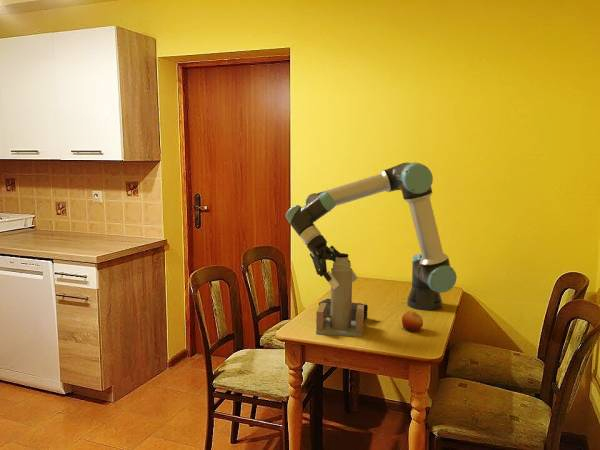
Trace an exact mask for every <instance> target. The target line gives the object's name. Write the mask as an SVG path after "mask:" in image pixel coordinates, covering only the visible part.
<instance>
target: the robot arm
mask: <svg viewBox="0 0 600 450" xmlns="http://www.w3.org/2000/svg"><path fill="white" fill-rule="evenodd" d="M433 177H434V176H433V173H432V171H431V169H429V167H428V166H427V165H425V164H422V163H420V162H402V163H399V164H397V165H395V166H394V165H393V166H391V167H389V168H386V169H383V170H381V172H380V173H379V174H376V175H372V176H369V177H365V178H363V179H359V180H356V181H353V182H350V183H345V184H343V185H339V186H337V187H333V188H330V189H326V190H324V191H320V192H317V193H315V192H314V193H310V194H309V195H308V196H307V197H306V198H305V205H304V206H301V205H300V204H297V205H294V206H291V207H290V208H289V209H288V210H287V212H286V213H285V218H286V220H287V222H288V223H289V224H290V226H291V227H292V229H293V230H294V231H295V232H296V234H297V236H298V237H299V238H300V239H301V240H302V242H303V243H304V245H306V248H307V249H308V251H309V252H310V253H309V257H310V258H311V260H312V263H313V265H314V268H315V272H316V274H317V275H318V276H320V277H324V279H325V280H326V281H327V283H328V284H329V285H330V287H331V286H332V288H333V289H336V288H337V287H338V286H339V284H338V282H337V281H336V280H335V278H334V277H333V276H332V274H331V270H328V268H327V267H328V266H327V261H332V262H333V263H334V262H335V261H336V256H335V254H338V253H341V252H340V251H339V250H338V249H337V248H336V247H335V246H334V245H331V246H329V247H328V245H327V243H328V240H327V239H326V238H325V237H324V235H323V234H322V233H321V231H320V230H319V229H318V228H317V226H316V224H314V223H316V222H317V221H318V220H319V219H321V218H322V217H323V216H325V215H326V214H328V213H330V212H331V211H332V210H333V209H334V208H336V207H337V206H340V205H344V204H346V203H351V202H354V201H356V200H360V199H363V198H367V197H370V196H373V195H377V194H380V193H383V192H387V193H391V192H395V191H401V193H402V197H403V200H404V201H405V202H407V203H408V206H409V210H410V214H411V219H412V223H413V226H414V229H415V234H416V238H417V242H418V246H419V250H420V253H416V254H414V255H413V257H412V262H411V263H412V267H411V269H412V270H411V271H412V272H411V273H412V274H411V276H412V277H411V288H410V292H409V293H408V296H407V299H406V301H407V302H406V303H407V306H408V307H410V308H412V309H416V310H422V311H423V310H425V311H432V310H433V311H435V310H439V309H441V308H443V299H442V295H441V294H443V293H446V292H449V291H451V290H452V289H453V288H454V286H455V285H456V282H457V277H458V276H457V272H456V271H455V269H454V268H453V267H452V266H451V263H450V259H449V256H448V255H447V254H446V253H444V250H443V247H442V242H441V239H440V234H439V231H438V230H439V229H438V226H437V222H436V217H435V213H434V209H433V206H432V201H431V197H432V194H433V188H432V185H433V182H434V181H433V179H434V178H433ZM348 261H349V262H350V263H351V261H350V259H348ZM358 279H359V277H358V276H357V274H356V273H355V272H354V270H353V269H352V283H355V282H356V281H357V280H358Z"/></svg>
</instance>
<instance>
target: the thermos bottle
mask: <svg viewBox="0 0 600 450" xmlns="http://www.w3.org/2000/svg"><path fill="white" fill-rule="evenodd" d="M335 256H336V261H335V262H334V261H333V263H332V267H331V269H330V273H331V274H332V276H333V277H334V278H335V280H336V281H337V282H338V284H339V286H338V287H337V288H336V289H333V288H332V286H331V285H330V299H331V311H330V318H329V320H330V326H331V327H332V328H335V329H348V328H350V327H351V307H352V303H353V302H352V299H353V298H352V297H353V296H352V295H353V282H352V270H353V268H352V263H351V261H350V260H349V254H348V253H342V252H340V253H338V254H335ZM348 260H349V261H350V262H349V261H348Z"/></svg>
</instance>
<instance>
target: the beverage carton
mask: <svg viewBox="0 0 600 450" xmlns="http://www.w3.org/2000/svg"><path fill="white" fill-rule="evenodd" d="M320 303H327V317H326V318H328V319H330V311H331V298H326V299H322V300H321V301H319V302H318V306H319V305H320ZM358 305H364V321H366V320H367V319H368V308H369V306H368V304H365V303H361V302H352V307H351V321H356V311H357V306H358Z"/></svg>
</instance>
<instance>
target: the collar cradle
mask: <svg viewBox="0 0 600 450" xmlns="http://www.w3.org/2000/svg"><path fill="white" fill-rule="evenodd" d="M327 318H328V317H327V303H320V305H319V304H318V308H317V310H316V325H315V326H316V327H315V328H316V330H315V334H316V335H328V336H329V335H330V336H345V337H356V338H357V337H358V338H361V337H363V329H364V321H365V320H364V305H358V306H357V311H356V321H351V327H350V328H348V329H335V328H332V327H331V326H330V318H328V319H327Z"/></svg>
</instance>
